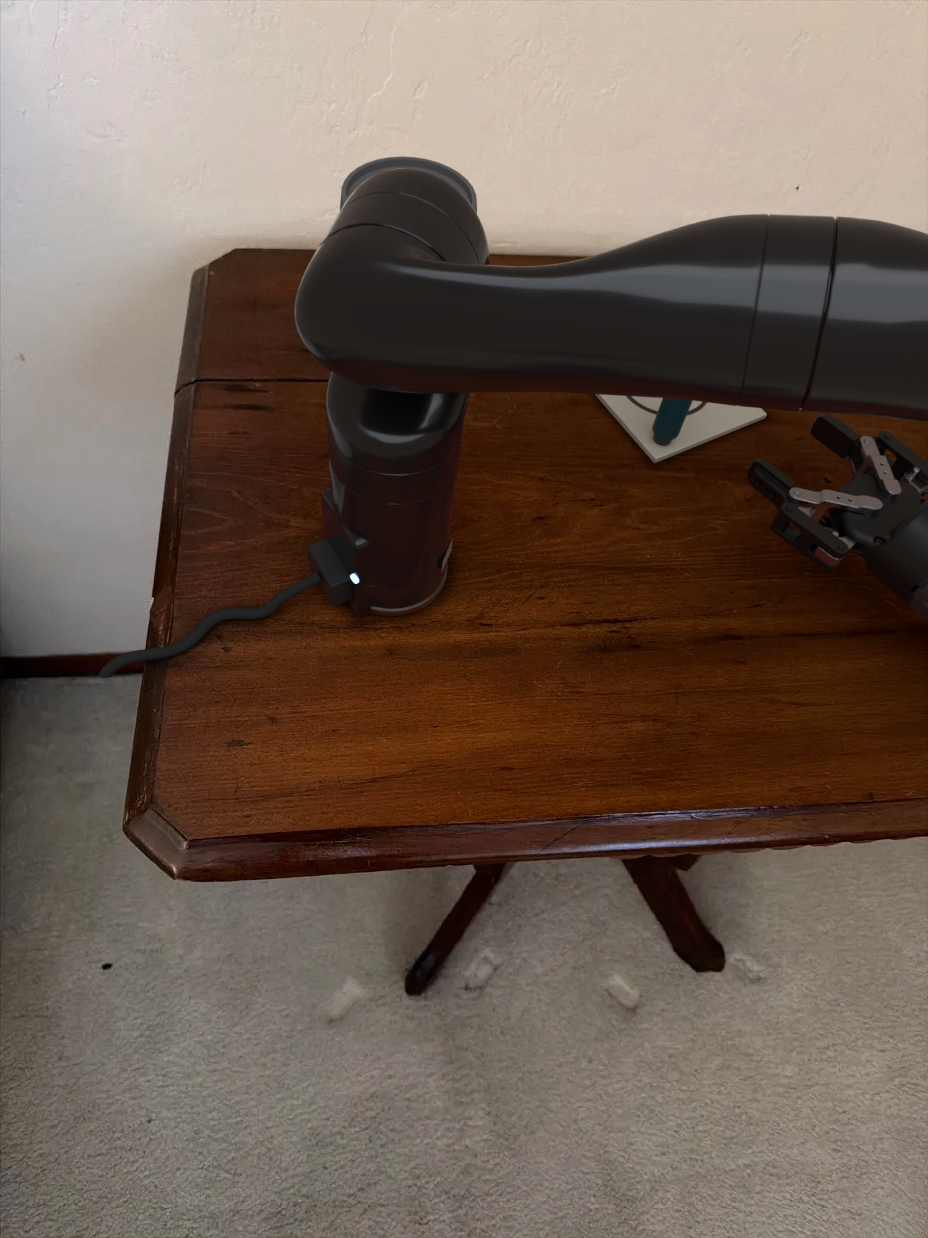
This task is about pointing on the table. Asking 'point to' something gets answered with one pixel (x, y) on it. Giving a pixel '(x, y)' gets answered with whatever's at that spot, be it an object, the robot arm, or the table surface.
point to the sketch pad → (696, 429)
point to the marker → (669, 420)
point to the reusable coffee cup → (407, 162)
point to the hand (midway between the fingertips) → (784, 443)
